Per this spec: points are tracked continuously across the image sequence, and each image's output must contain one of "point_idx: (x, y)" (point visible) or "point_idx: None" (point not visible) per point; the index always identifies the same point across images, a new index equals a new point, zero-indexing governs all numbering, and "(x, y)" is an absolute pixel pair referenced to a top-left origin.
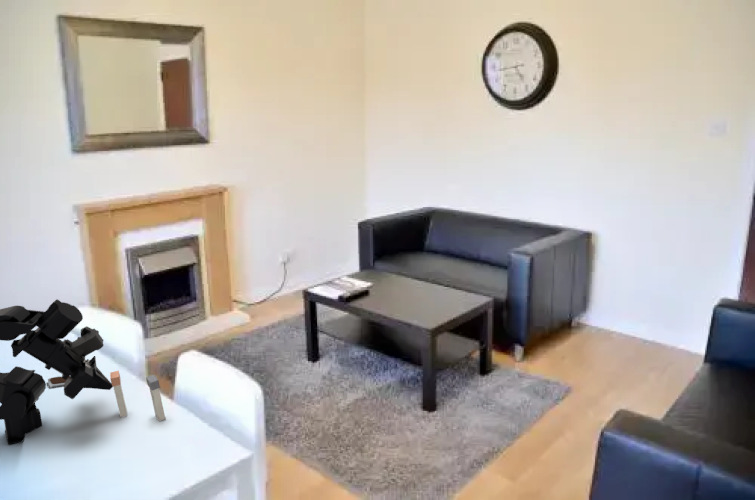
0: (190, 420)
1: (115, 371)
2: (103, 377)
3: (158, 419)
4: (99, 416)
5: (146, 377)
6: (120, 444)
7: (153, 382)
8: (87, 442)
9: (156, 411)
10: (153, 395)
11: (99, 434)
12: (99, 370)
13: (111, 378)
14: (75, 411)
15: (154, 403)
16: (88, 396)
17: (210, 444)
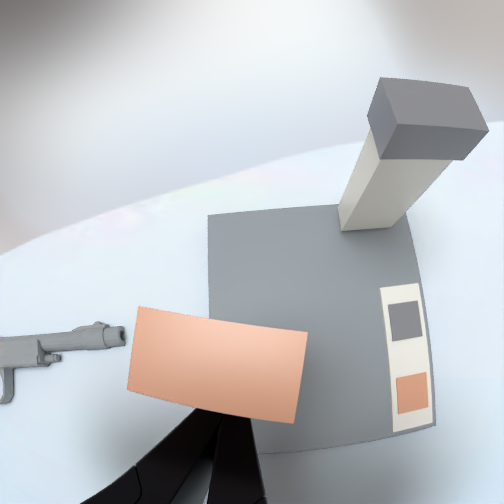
0: None
1: (135, 338)
2: (215, 478)
3: (384, 226)
4: None
5: (406, 123)
6: (438, 380)
7: (478, 116)
8: (364, 487)
9: (388, 214)
10: (433, 174)
11: (330, 449)
12: (106, 499)
13: (289, 412)
14: (100, 479)
15: (396, 199)
16: (26, 407)
17: (499, 151)
